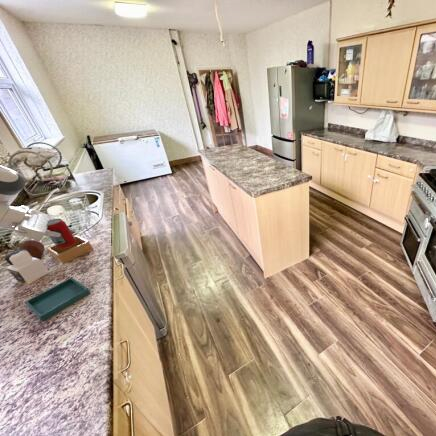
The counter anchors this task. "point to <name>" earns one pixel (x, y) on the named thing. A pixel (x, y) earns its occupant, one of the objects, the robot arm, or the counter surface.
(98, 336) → the counter surface
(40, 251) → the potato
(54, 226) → the beverage can
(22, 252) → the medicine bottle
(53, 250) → the basket
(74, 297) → the tray
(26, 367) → the counter surface
